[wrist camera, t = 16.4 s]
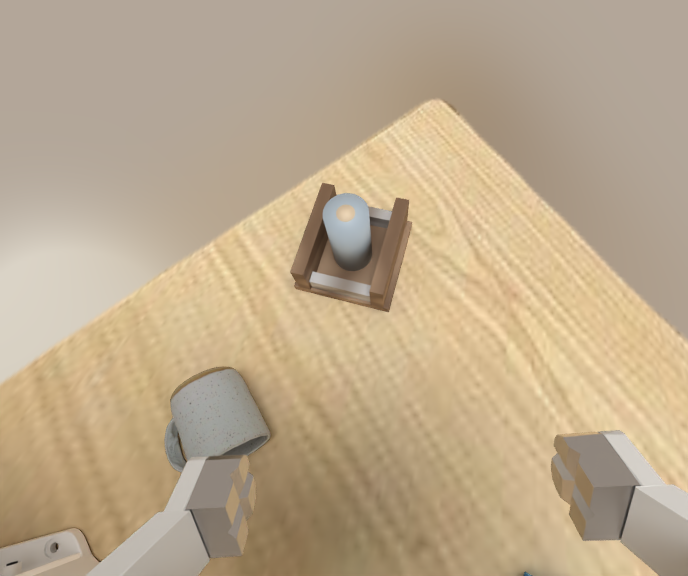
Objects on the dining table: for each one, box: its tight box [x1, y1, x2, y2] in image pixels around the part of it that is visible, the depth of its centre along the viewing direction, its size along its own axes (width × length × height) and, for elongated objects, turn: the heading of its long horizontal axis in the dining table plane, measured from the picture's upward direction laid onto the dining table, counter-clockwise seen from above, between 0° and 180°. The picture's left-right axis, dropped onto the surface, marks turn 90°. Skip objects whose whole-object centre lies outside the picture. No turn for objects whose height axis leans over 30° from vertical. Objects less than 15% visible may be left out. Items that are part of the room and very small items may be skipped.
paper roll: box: [323, 193, 372, 271], centre depth 42 cm, size 4×4×9 cm
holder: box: [291, 183, 412, 312], centre depth 45 cm, size 11×11×6 cm
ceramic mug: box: [165, 367, 271, 472], centre depth 39 cm, size 11×8×8 cm
